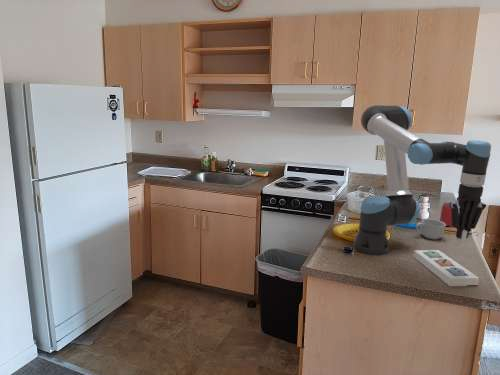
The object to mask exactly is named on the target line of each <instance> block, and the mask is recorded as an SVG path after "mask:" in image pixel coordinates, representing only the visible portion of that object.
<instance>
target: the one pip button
mask: <svg viewBox="0 0 500 375" xmlns="http://www.w3.org/2000/svg"><path fill="white" fill-rule="evenodd" d="M426 255H427V256H428V257H429V258H439V257H440V254H439V253H438V252H435V251H427V254H426Z"/></svg>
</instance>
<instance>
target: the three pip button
mask: <svg viewBox="0 0 500 375" xmlns="http://www.w3.org/2000/svg"><path fill="white" fill-rule="evenodd" d="M437 264H439V265H440V266H441V267H448V266H451V264H452V262H451V261H449V260H447V259H438V261H437Z"/></svg>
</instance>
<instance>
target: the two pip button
mask: <svg viewBox="0 0 500 375" xmlns="http://www.w3.org/2000/svg"><path fill="white" fill-rule="evenodd" d="M449 273H451V274H452V275H453V276H464V273H465V272H464V270H462V269H460V268H455V267H452V268H450V270H449Z"/></svg>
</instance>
